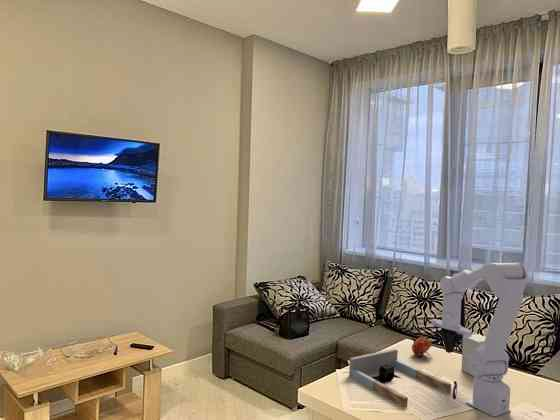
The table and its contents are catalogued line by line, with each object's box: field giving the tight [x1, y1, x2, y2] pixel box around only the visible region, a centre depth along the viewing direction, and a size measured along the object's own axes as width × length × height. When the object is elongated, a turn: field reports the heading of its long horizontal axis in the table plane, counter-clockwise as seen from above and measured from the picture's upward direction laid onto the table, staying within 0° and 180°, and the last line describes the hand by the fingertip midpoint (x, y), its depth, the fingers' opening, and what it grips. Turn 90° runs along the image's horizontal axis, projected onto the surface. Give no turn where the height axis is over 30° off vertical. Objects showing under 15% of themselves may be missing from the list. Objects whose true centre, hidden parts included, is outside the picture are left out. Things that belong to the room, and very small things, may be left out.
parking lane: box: [348, 348, 452, 408], centre depth 146 cm, size 24×21×6 cm
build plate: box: [370, 364, 402, 384], centre depth 150 cm, size 12×7×5 cm, turn 120°
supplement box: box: [460, 333, 486, 377], centre depth 157 cm, size 7×7×13 cm
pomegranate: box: [411, 337, 433, 359], centre depth 171 cm, size 7×7×10 cm
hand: (449, 351), depth 150 cm, fingers closed
